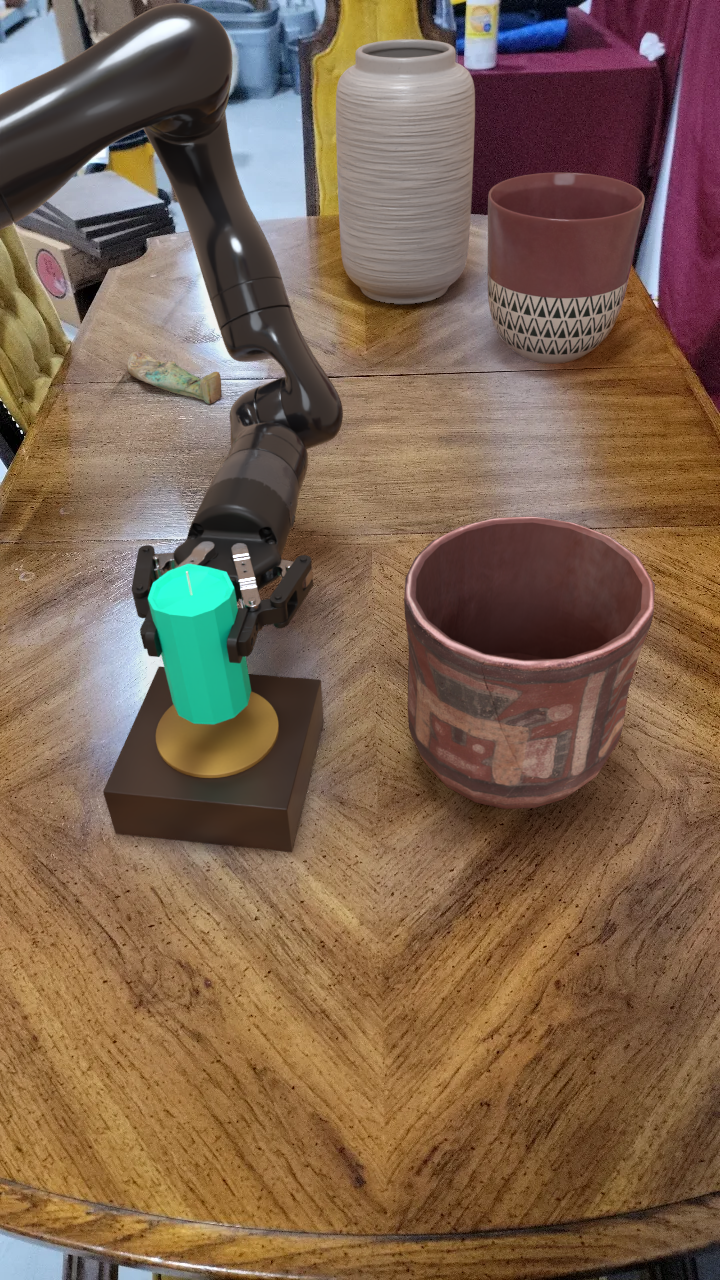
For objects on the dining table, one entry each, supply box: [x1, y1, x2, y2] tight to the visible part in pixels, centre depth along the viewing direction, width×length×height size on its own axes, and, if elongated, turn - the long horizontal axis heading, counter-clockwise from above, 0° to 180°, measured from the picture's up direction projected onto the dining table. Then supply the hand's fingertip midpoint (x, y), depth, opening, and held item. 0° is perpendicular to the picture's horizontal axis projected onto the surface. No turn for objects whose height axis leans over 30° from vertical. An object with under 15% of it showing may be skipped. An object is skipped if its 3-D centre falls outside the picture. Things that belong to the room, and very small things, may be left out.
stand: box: [102, 666, 325, 853], centre depth 79 cm, size 14×14×5 cm
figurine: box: [126, 350, 223, 405], centre depth 133 cm, size 6×15×4 cm, turn 49°
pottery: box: [403, 515, 656, 810], centre depth 76 cm, size 18×18×18 cm
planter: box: [487, 172, 646, 365], centre depth 132 cm, size 20×20×21 cm
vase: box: [335, 38, 476, 305], centre depth 148 cm, size 20×20×34 cm
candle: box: [148, 564, 251, 724], centre depth 72 cm, size 6×6×12 cm
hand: (192, 650), depth 69 cm, fingers closed on candle, 5 cm apart
